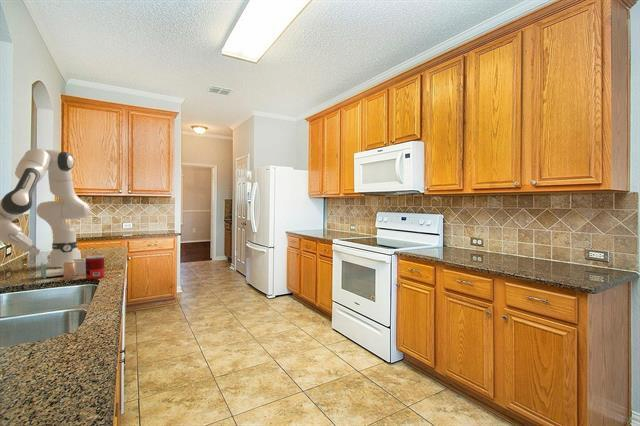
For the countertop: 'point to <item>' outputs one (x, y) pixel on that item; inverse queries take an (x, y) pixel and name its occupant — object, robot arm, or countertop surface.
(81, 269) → the housing
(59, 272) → the tray
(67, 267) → the jar
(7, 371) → the countertop surface
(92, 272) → the canned food
